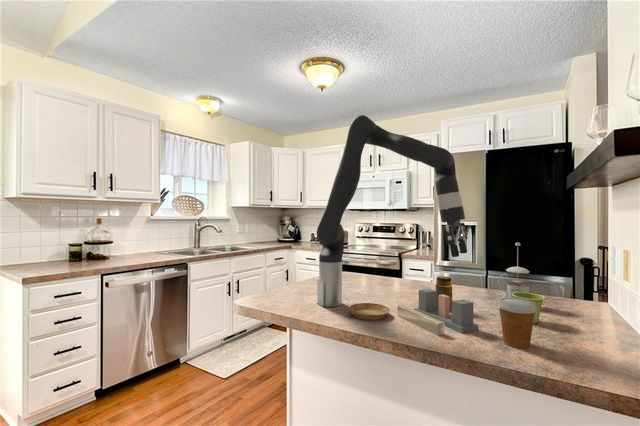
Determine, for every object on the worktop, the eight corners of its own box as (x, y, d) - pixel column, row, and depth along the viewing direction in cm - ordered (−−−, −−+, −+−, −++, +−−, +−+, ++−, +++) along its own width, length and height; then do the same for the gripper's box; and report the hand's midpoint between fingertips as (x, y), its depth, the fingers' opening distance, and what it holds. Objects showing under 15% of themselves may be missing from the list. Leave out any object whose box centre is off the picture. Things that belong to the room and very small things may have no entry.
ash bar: (438, 336, 97) (438, 323, 97) (397, 316, 116) (397, 305, 116) (444, 335, 98) (444, 322, 98) (403, 316, 117) (403, 305, 117)
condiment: (457, 309, 124) (457, 278, 124) (443, 313, 120) (443, 280, 120) (440, 304, 130) (440, 274, 130) (426, 308, 126) (427, 277, 126)
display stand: (461, 333, 100) (461, 305, 100) (414, 312, 120) (414, 289, 120) (478, 329, 102) (478, 302, 102) (429, 310, 123) (429, 287, 123)
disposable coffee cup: (490, 337, 96) (490, 297, 96) (520, 336, 97) (520, 296, 97) (511, 351, 86) (512, 306, 86) (545, 350, 87) (545, 305, 87)
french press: (535, 309, 124) (535, 244, 124) (501, 306, 128) (501, 243, 128) (528, 302, 133) (528, 241, 133) (496, 300, 137) (496, 240, 137)
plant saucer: (341, 312, 121) (341, 305, 121) (375, 307, 127) (375, 301, 127) (361, 325, 107) (361, 317, 107) (398, 319, 113) (398, 312, 113)
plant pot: (539, 318, 114) (539, 293, 114) (548, 327, 105) (548, 300, 105) (509, 315, 117) (509, 291, 117) (515, 323, 108) (515, 297, 108)
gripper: (447, 208, 118) (455, 253, 116) (431, 209, 107) (441, 259, 106) (468, 204, 113) (477, 251, 112) (454, 205, 102) (464, 257, 101)
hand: (459, 254), depth 109 cm, fingers open, 8 cm apart
